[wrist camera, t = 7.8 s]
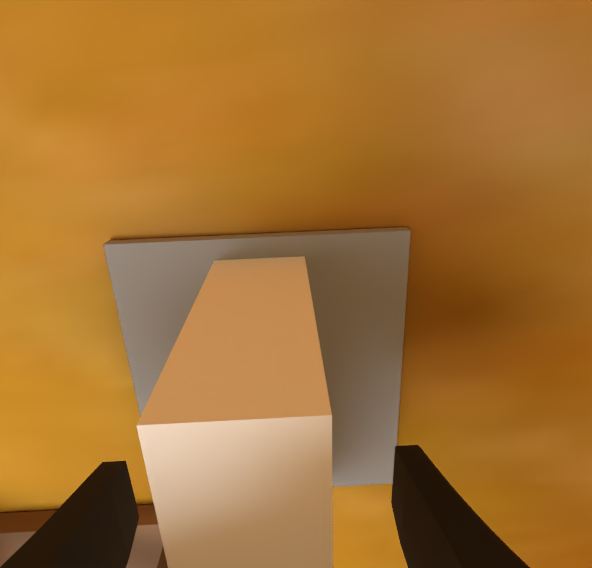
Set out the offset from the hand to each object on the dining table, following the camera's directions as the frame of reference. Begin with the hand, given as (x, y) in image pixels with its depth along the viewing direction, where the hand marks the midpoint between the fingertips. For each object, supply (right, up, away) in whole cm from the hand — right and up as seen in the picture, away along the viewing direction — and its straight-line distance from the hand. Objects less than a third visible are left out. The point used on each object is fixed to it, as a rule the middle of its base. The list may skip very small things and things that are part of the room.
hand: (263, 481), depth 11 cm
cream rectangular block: (0, +2, +4) cm, 5 cm away
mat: (0, +2, +5) cm, 5 cm away
